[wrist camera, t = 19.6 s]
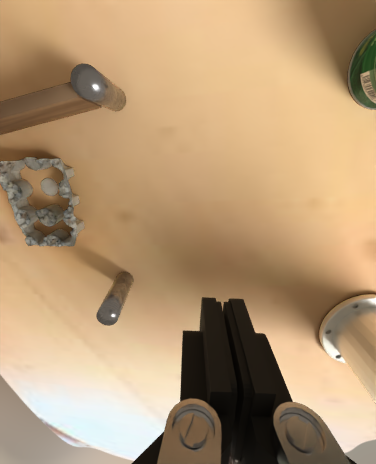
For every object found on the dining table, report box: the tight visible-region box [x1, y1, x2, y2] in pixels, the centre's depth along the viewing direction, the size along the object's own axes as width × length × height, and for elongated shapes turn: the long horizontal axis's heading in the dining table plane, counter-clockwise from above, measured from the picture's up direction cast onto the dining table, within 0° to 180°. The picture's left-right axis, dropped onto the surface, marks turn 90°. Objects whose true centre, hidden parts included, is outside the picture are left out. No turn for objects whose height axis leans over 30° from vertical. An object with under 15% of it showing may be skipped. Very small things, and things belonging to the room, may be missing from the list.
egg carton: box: [0, 157, 85, 247], centre depth 29 cm, size 11×8×4 cm
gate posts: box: [71, 64, 133, 325], centre depth 27 cm, size 2×25×8 cm, turn 178°
